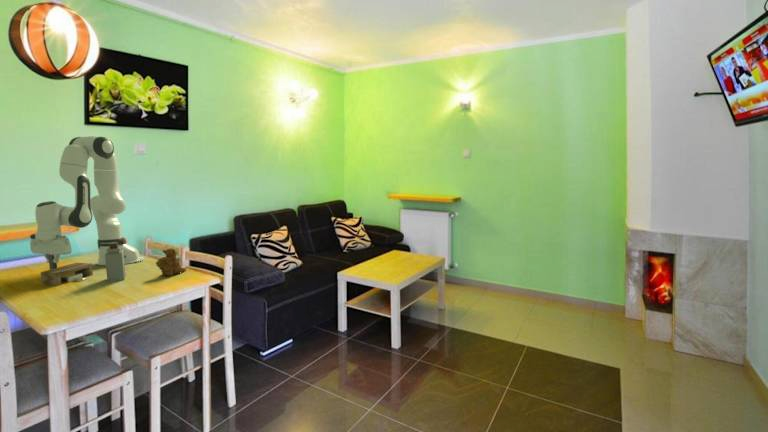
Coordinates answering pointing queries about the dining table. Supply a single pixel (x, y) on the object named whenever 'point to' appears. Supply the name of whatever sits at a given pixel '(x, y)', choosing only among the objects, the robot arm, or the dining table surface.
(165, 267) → the stuffed squirrel
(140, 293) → the dining table surface
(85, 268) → the bench
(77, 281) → the token
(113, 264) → the perfume bottle
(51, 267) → the slab with upright peg
